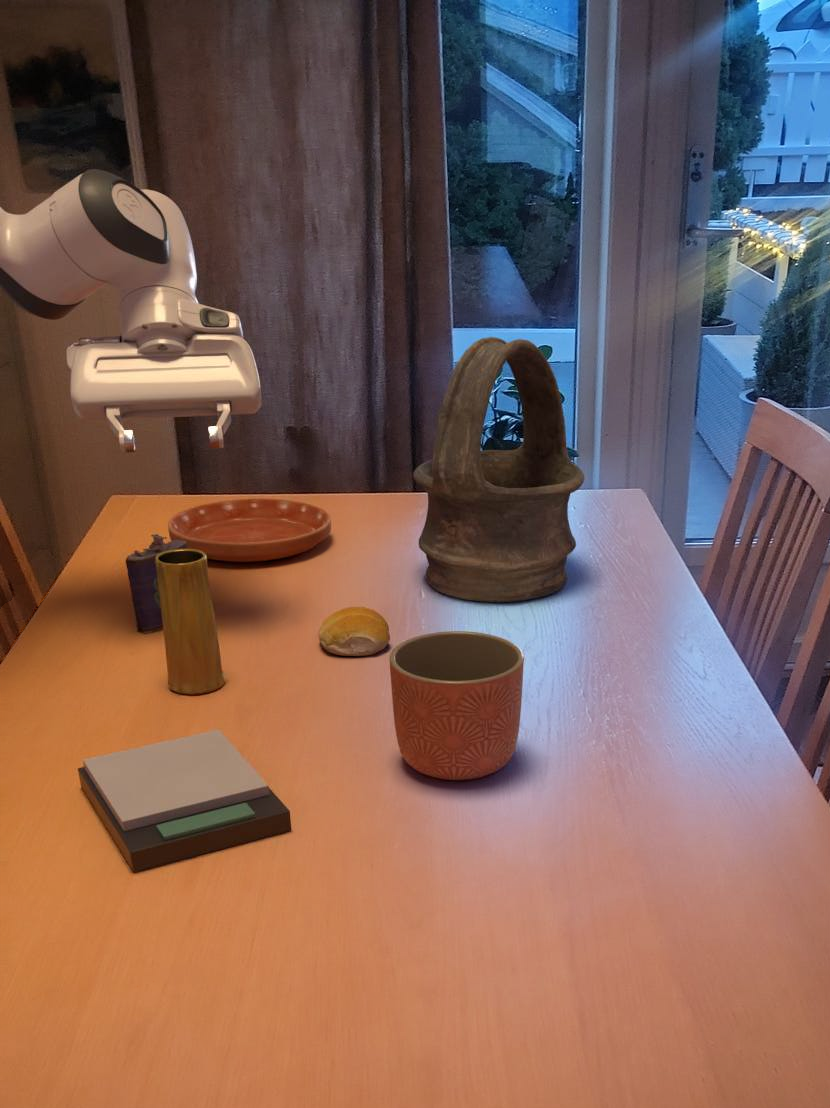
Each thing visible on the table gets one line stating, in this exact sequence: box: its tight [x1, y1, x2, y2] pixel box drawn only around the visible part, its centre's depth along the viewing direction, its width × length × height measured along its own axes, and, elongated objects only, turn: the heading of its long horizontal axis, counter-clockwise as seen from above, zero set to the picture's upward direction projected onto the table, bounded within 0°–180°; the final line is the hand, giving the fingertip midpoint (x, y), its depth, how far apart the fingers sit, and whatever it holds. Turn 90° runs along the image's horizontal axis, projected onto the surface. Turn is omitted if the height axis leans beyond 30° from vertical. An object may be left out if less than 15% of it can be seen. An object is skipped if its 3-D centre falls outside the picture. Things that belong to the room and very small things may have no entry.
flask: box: [125, 533, 188, 634], centre depth 147 cm, size 9×3×11 cm, turn 147°
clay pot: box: [413, 336, 586, 603], centre depth 156 cm, size 22×23×30 cm
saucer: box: [167, 498, 332, 563], centre depth 175 cm, size 23×23×4 cm
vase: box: [155, 549, 226, 696], centre depth 130 cm, size 6×6×14 cm
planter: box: [388, 630, 525, 781], centre depth 116 cm, size 12×12×11 cm
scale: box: [77, 729, 292, 873], centre depth 110 cm, size 14×17×3 cm
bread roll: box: [317, 606, 391, 657], centre depth 143 cm, size 8×9×4 cm
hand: (172, 447), depth 132 cm, fingers open, 8 cm apart
